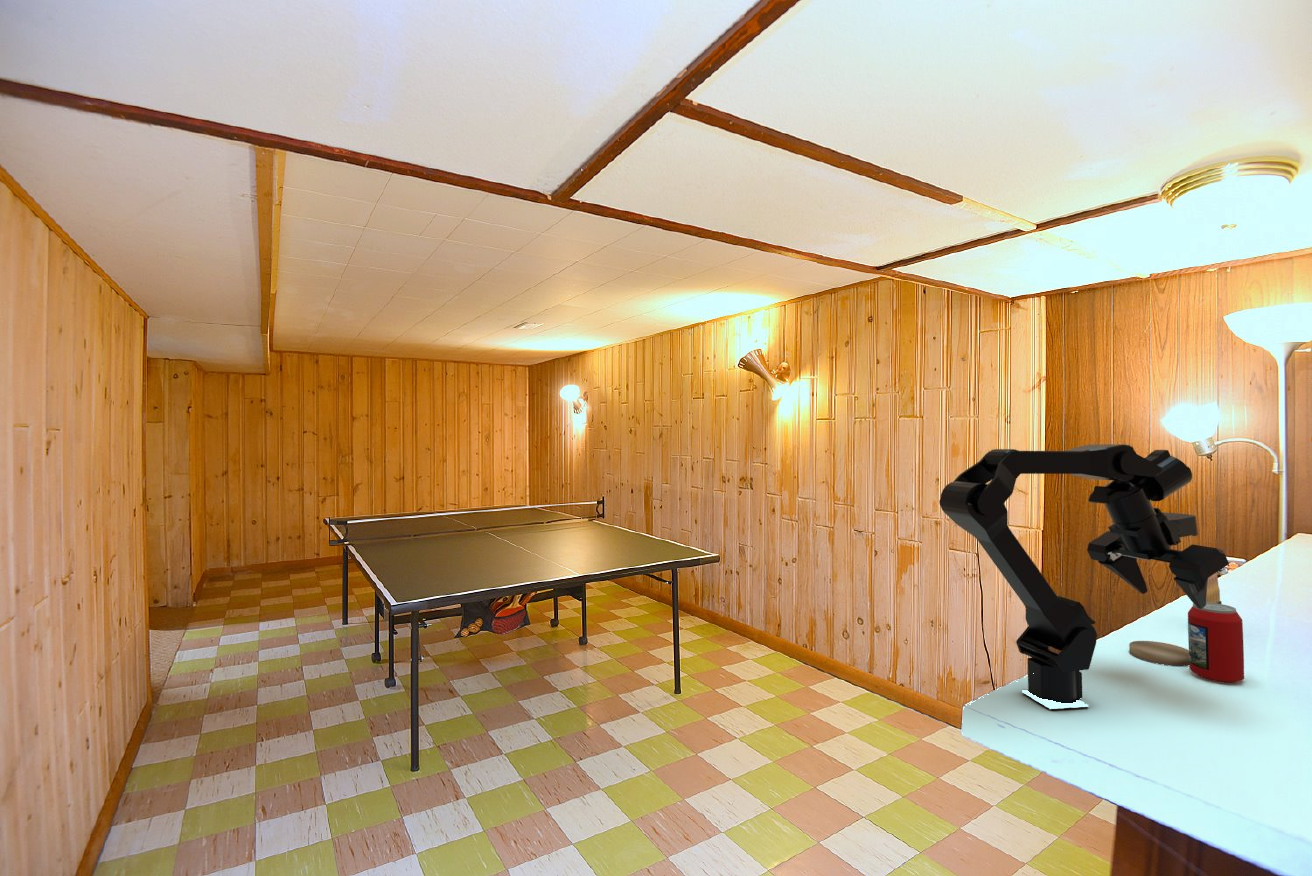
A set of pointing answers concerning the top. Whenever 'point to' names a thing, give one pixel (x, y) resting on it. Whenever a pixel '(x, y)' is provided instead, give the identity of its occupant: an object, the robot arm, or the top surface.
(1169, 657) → the coaster
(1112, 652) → the top surface
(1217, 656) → the beverage can
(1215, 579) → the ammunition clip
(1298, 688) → the top surface
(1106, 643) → the top surface
